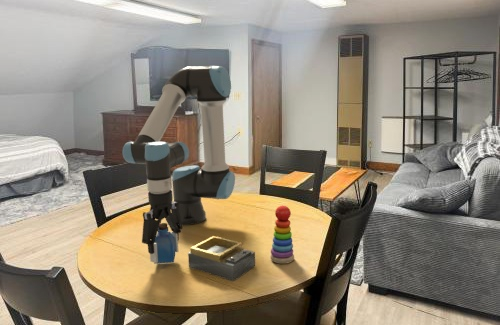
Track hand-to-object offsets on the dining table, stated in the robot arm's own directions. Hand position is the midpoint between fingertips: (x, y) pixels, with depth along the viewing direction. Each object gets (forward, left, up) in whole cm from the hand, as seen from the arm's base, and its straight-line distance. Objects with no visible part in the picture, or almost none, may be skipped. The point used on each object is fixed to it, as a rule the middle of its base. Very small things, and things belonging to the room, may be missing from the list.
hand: (164, 256), depth 139 cm
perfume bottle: (0, 0, -1) cm, 1 cm away
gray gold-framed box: (+17, +9, -3) cm, 19 cm away
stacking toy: (+31, +24, -3) cm, 39 cm away
